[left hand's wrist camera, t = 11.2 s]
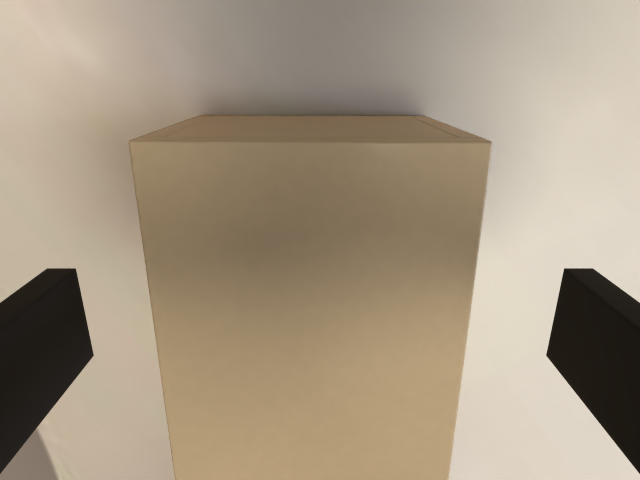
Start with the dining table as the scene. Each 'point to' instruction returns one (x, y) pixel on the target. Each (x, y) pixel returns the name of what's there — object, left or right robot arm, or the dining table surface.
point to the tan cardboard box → (311, 291)
